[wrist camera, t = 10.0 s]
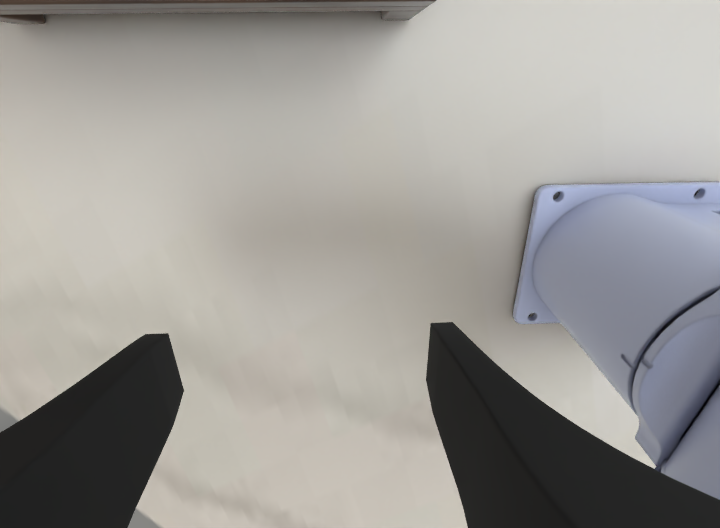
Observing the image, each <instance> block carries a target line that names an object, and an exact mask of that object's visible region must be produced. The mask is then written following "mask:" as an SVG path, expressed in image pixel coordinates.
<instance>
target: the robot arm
mask: <svg viewBox="0 0 720 528" xmlns="http://www.w3.org/2000/svg"><path fill="white" fill-rule="evenodd" d="M698 189H699V192H698V193H697V194H696V195H695V196H694V193H695V192H696V191H697V190H698ZM559 191H560V195H559V197H558V198H557V199H554V200H553V196H554V194H555V193H556V192H559ZM531 313H534V315H532V316H531V317H528V316H529V315H530V314H531ZM513 318H514V319H515V321H516V322H517V323H519V324H539V323H561V324H562V325H563V326H564V327H565V329H566V330H567V331H568V332H569V333H570V335H571V336H572V337H573V338H574V340H575V341H576V342H577V343H578V344H579V346H580V347H581V348H582V349H583V350H584V352H585V353H586V354H587V355H588V357H589V358H590V359H591V360H592V361H593V363H594V364H595V365H596V366H597V367H598V369H599V370H600V371H601V372H602V374H603V375H604V376H605V377H606V378H607V380H608V381H609V382H610V383H611V384H612V386H613V387H614V388H615V389H616V391H617V392H618V393H619V394H620V395H621V397H622V398H623V399H624V400H625V401H626V403H627V404H628V405H629V406H630V407H631V409H632V410H633V411H634V412H635V414H636V415H637V416H638V418H639V429H638V431H637V434H636V436H635V439H636V440H637V442H638V443H639V444H640V446H641V447H642V448H643V450H644V451H645V452H646V453H647V455H648V456H649V457H650V459H651V460H652V461H653V463H654V464H655V465H656V466H657V467H656V468H655V469H653V468H651V467H649V466H647V465H645V464H643V463H641V462H639V461H638V460H636V459H634V458H632V457H630V456H628V455H626V454H625V453H623V452H621V451H619V450H617V449H616V448H614V447H612V446H610V445H609V444H607V443H605V442H604V441H602V440H600V439H599V438H597V437H595V436H594V435H592V434H590V433H589V432H587V431H585V430H584V429H582V428H580V427H579V426H577V425H576V424H574V423H573V422H571V421H570V420H568V419H567V418H565V417H564V416H562V415H561V414H559V413H558V412H556V411H555V410H554V409H552V408H551V407H549V406H548V405H546V404H545V403H544V402H542V401H541V400H539V399H538V398H537V397H535V396H534V395H533V394H531V393H530V392H529V391H528V390H527V389H525V388H524V387H523V386H522V385H520V384H519V383H518V382H517V381H515V380H514V379H513V378H512V377H510V376H509V375H508V374H507V373H506V372H505V371H503V370H502V369H501V368H500V367H499V366H498V365H497V364H496V363H495V362H493V361H492V360H491V359H490V358H489V357H488V356H487V355H486V354H485V353H484V352H483V351H482V350H481V349H480V348H478V347H477V346H476V345H475V344H474V343H473V342H472V341H471V340H470V339H469V338H468V337H467V336H466V335H465V334H464V333H463V332H462V331H461V330H460V329H459V328H458V327H457V326H456V325H455V324H454V323H453V322H446V323H431V327H430V339H429V352H428V364H427V376H426V381H427V386H428V391H429V397H430V402H431V406H432V411H433V415H434V418H435V421H436V424H437V427H438V430H439V433H440V437H441V440H442V443H443V446H444V449H445V452H446V455H447V458H448V461H449V464H450V467H451V470H452V473H453V476H454V479H455V482H456V485H457V488H458V491H459V494H460V498H461V501H462V505H463V509H464V513H465V517H466V521H467V526H468V528H720V182H671V183H618V184H564V185H544V186H542V187H540V188H539V189H538V190H537V191H536V194H535V198H534V203H533V209H532V214H531V219H530V225H529V230H528V235H527V241H526V246H525V251H524V257H523V262H522V267H521V273H520V278H519V283H518V289H517V294H516V299H515V305H514V310H513ZM183 392H184V389H183V386H182V382H181V378H180V375H179V371H178V367H177V364H176V360H175V356H174V353H173V349H172V345H171V342H170V338H169V335H168V333H167V334H145V335H144V336H142V337H140V338H139V339H137V340H136V341H134V342H133V343H131V344H130V345H129V346H127V347H126V348H124V349H123V350H122V351H120V352H119V353H118V354H116V355H115V356H113V357H112V358H111V359H109V360H108V361H107V362H105V363H104V364H102V365H101V366H100V367H98V368H97V369H95V370H94V371H93V372H91V373H90V374H89V375H87V376H86V377H84V378H83V379H82V380H80V381H79V382H77V383H76V384H75V385H73V386H72V387H70V388H69V389H67V390H66V391H64V392H63V393H61V394H60V395H58V396H57V397H55V398H54V399H52V400H51V401H49V402H48V403H46V404H45V405H43V406H42V407H40V408H39V409H37V410H36V411H35V412H33V413H31V414H30V415H28V416H27V417H25V418H24V419H22V420H20V421H19V422H17V423H16V424H14V425H12V426H11V427H9V428H7V429H6V430H4V431H2V432H1V433H0V528H127V527H128V525H129V523H130V520H131V518H132V515H133V513H134V511H135V508H136V506H137V504H138V502H139V500H140V497H141V495H142V493H143V491H144V489H145V487H146V484H147V482H148V480H149V478H150V476H151V473H152V471H153V469H154V467H155V465H156V463H157V461H158V458H159V456H160V454H161V452H162V450H163V447H164V445H165V443H166V441H167V438H168V436H169V434H170V432H171V429H172V427H173V425H174V422H175V418H176V415H177V412H178V409H179V406H180V402H181V399H182V395H183Z"/></svg>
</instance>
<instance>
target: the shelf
mask: <svg viewBox="0 0 720 528" xmlns="http://www.w3.org/2000/svg"><path fill="white" fill-rule="evenodd" d="M435 1H436V0H0V22H6V23H14V24H43V23H45V19H44V16H43V14H114V13H218V12H321V11H381V18H382V20H409V19H411V18H412V17H414V16H415V15H416V14H418V13H419V12H421V11H422V10H423V9H425V8H426V7H428V6H429V5H431V4H432V3H434V2H435Z"/></svg>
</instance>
